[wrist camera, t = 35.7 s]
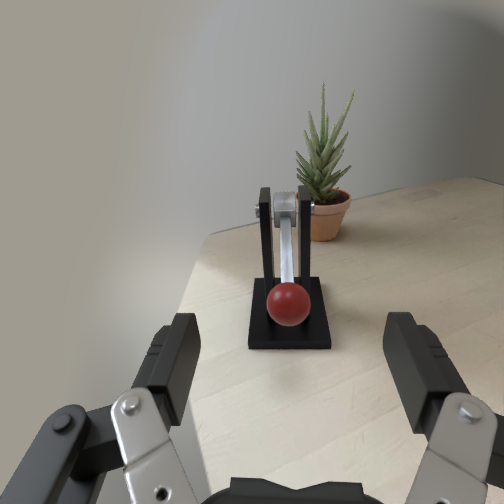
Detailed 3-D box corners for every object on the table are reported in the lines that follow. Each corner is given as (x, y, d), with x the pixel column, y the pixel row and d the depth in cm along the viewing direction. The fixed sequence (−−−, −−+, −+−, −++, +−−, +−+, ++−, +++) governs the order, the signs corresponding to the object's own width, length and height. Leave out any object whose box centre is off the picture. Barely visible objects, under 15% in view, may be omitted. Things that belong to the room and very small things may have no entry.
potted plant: (355, 227, 58) (370, 75, 46) (335, 251, 52) (346, 80, 39) (306, 218, 63) (307, 79, 51) (282, 238, 57) (277, 84, 44)
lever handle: (311, 333, 26) (313, 313, 23) (267, 333, 26) (265, 313, 24) (301, 211, 35) (301, 186, 32) (268, 213, 35) (266, 188, 32)
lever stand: (330, 349, 34) (339, 215, 26) (248, 349, 35) (233, 220, 27) (318, 283, 44) (322, 173, 36) (255, 284, 45) (245, 177, 37)
